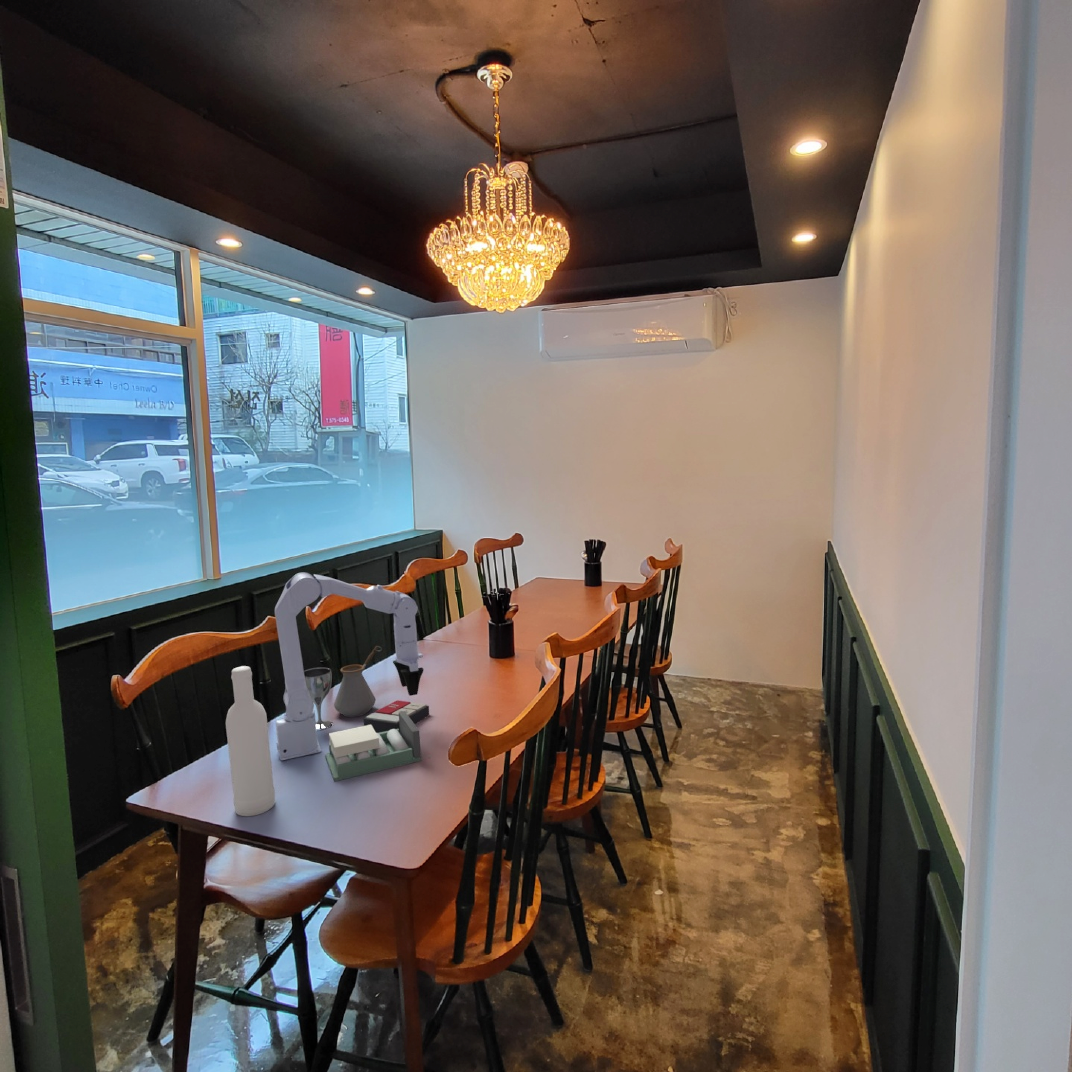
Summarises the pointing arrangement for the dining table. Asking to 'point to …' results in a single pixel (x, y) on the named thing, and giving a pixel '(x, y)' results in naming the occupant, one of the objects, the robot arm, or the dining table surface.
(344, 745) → the board
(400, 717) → the roller frame
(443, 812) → the dining table surface
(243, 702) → the bottle
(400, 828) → the dining table surface
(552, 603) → the dining table surface
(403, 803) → the dining table surface
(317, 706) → the wine glass
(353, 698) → the coffee pot
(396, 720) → the calculator
